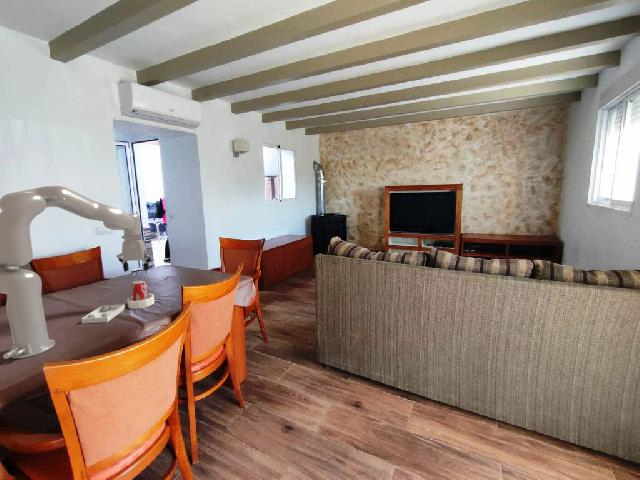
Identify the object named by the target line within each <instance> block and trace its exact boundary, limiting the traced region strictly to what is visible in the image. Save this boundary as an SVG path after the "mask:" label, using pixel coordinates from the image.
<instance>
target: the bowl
mask: <svg viewBox="0 0 640 480" xmlns="http://www.w3.org/2000/svg"><path fill="white" fill-rule="evenodd" d="M126 300H127V301H126V302H127V306H128V307H127V308H128V309H133V310H136V309H143V308H146V307H150V306H152V305H153V304H154V303H155V295H154V293H149V292H148V299H145V300H140V301H133V298H132V296H129V297H128V298H127V299H126Z"/></svg>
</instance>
